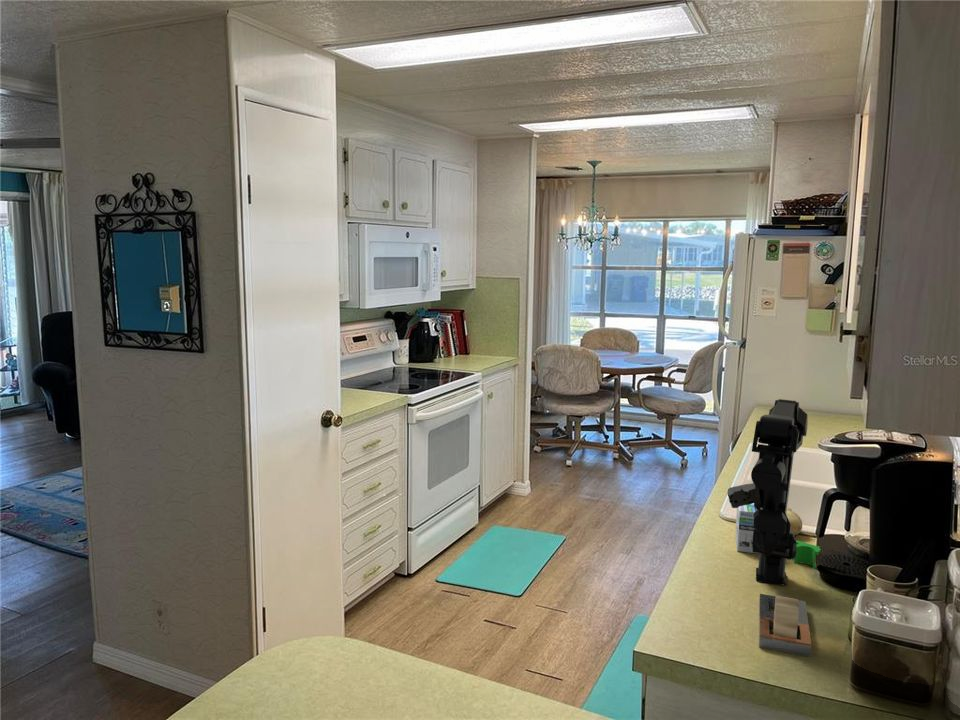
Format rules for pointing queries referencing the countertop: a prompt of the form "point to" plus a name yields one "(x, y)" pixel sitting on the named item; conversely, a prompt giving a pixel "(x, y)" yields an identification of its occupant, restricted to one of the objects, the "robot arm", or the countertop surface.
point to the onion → (794, 521)
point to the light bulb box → (745, 528)
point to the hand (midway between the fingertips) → (766, 547)
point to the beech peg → (786, 617)
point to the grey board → (780, 642)
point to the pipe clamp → (806, 553)
